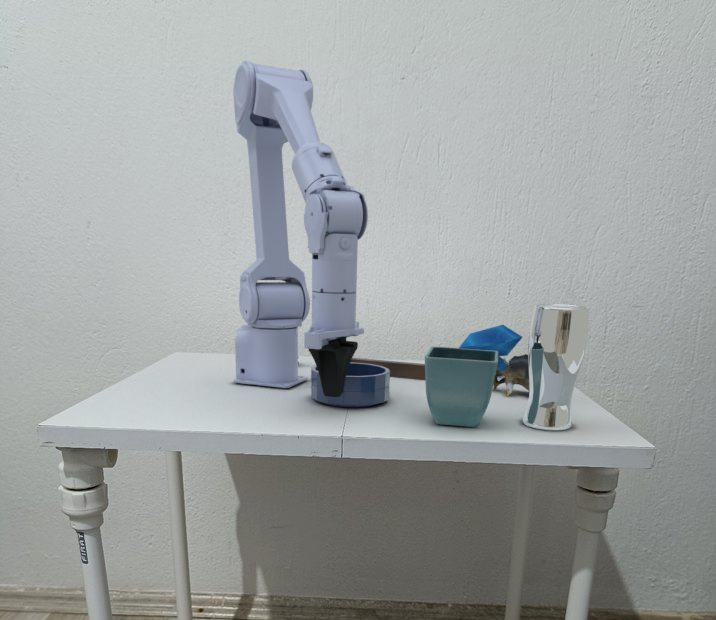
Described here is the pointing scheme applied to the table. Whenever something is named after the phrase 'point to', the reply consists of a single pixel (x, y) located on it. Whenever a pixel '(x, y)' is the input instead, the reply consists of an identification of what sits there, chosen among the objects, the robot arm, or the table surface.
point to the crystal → (493, 342)
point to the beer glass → (554, 363)
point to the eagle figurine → (514, 373)
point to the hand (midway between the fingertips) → (332, 395)
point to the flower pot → (459, 384)
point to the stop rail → (397, 367)
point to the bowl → (356, 386)
